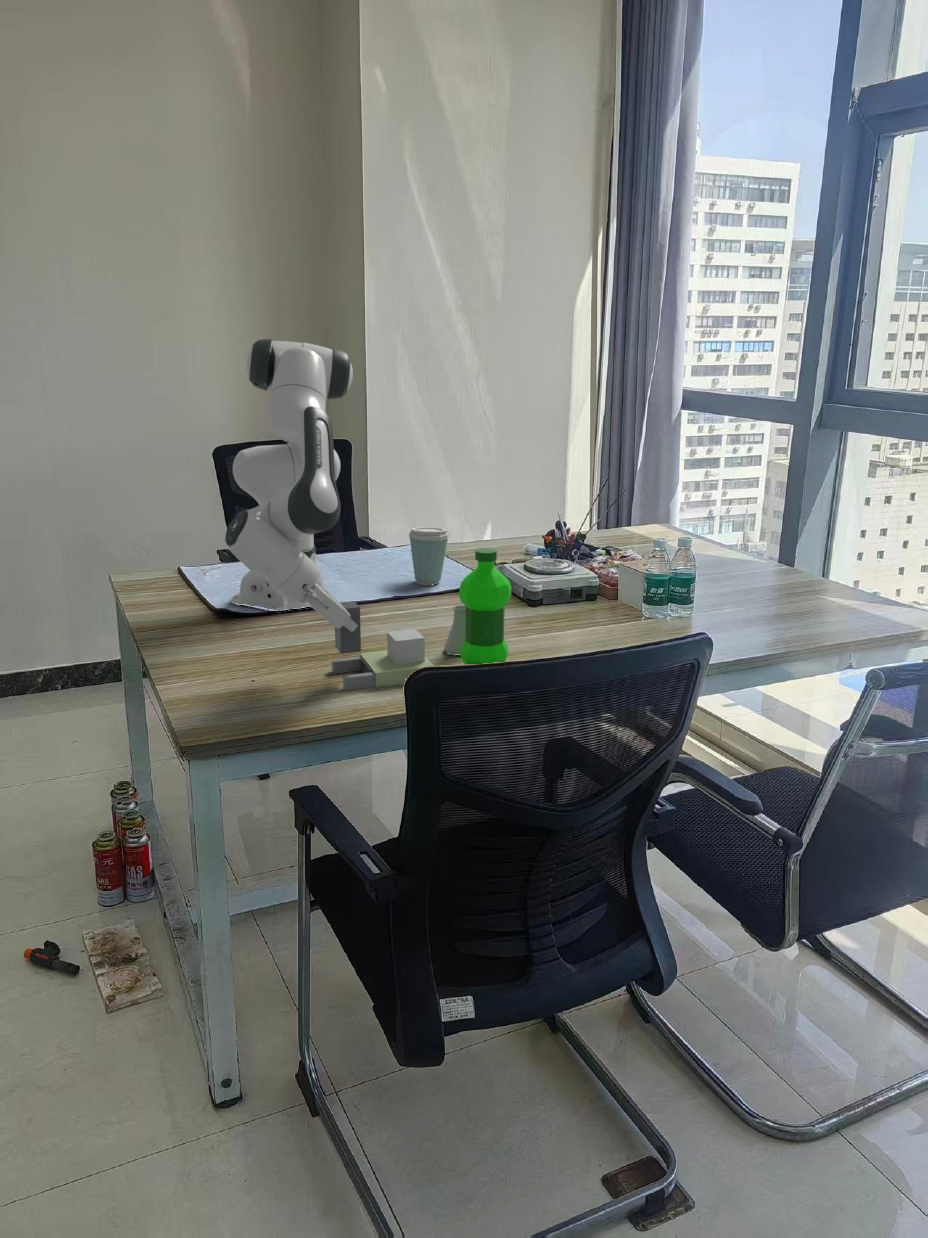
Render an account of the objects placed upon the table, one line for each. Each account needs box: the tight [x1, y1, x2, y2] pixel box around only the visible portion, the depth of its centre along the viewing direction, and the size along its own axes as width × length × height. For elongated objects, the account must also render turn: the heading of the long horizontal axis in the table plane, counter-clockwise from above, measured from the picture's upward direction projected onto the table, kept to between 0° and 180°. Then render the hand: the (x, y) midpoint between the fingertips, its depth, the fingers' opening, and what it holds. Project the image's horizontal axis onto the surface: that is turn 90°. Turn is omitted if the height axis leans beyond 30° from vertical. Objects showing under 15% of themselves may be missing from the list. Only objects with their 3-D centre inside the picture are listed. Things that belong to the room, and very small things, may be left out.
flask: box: [443, 604, 466, 654], centre depth 210 cm, size 7×7×10 cm
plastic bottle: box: [458, 547, 512, 665], centre depth 198 cm, size 10×10×25 cm
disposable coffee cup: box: [408, 526, 450, 586], centre depth 261 cm, size 11×11×15 cm
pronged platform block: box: [331, 628, 435, 691], centre depth 196 cm, size 18×12×8 cm, turn 111°
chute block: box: [334, 600, 362, 655], centre depth 192 cm, size 4×4×9 cm
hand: (350, 623), depth 192 cm, fingers closed on chute block, 4 cm apart
